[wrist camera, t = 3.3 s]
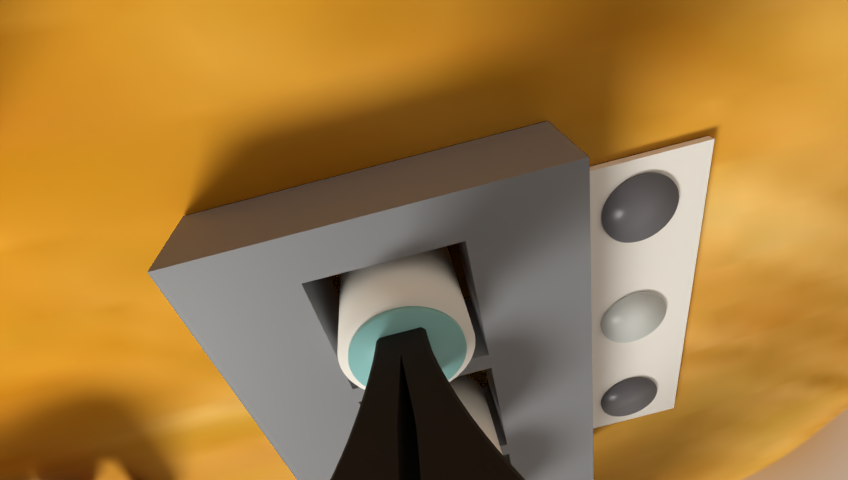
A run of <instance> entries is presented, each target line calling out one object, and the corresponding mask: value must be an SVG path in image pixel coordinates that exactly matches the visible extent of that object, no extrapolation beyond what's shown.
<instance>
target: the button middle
mask: <svg viewBox="0 0 848 480" xmlns="http://www.w3.org/2000/svg"><path fill="white" fill-rule="evenodd" d="M449 383H450V385H451V386H452V388H453V390H454V391H455V393H456V394H457V396H458V397H459V399H460V400H461V402H462V403H463V405H464V406H465V408H466V409H467V411H468V412H469V413H470V415H471V416H472V417H473V419H474V420H475V421H476V423H477V424H478V425H479V427H480V428H481V429H482V431H483V432H484V433H485V434H486V436H487V437H488V438H489V439H490V441H491V442H492V443H493V444H494V445H495V447H496V448H497V449H498V450H499V451H500V453H501V454H502V451H501V448H500V445H499V441H498V438H497V434H496V431H495V428H494V424H493V421H492V418H491V414H490V411H489V407H488V404H487V401H486V397H485V394H484V391H483V389H482V387H481V386H480V385H479V384H478V383H477V382H476V381H475V380H473V379H472V378H470V377H468V376H465V375H462V376H458V377H456V378H454V379H453V380H452V381H450V382H449Z"/></svg>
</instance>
